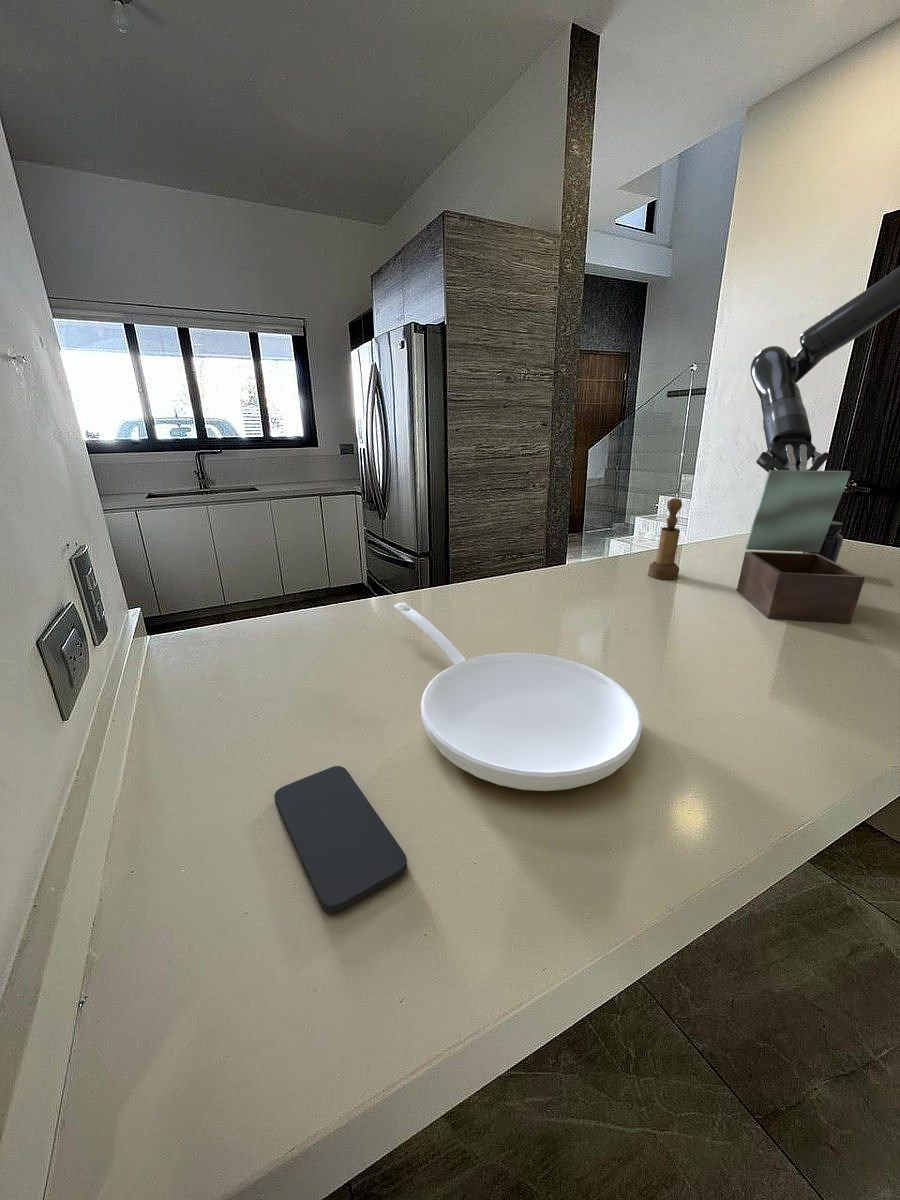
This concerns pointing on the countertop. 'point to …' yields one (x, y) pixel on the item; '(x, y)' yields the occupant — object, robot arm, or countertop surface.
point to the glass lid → (796, 510)
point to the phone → (339, 838)
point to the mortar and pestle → (667, 546)
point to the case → (799, 586)
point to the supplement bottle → (831, 542)
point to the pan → (527, 717)
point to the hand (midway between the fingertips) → (799, 494)
